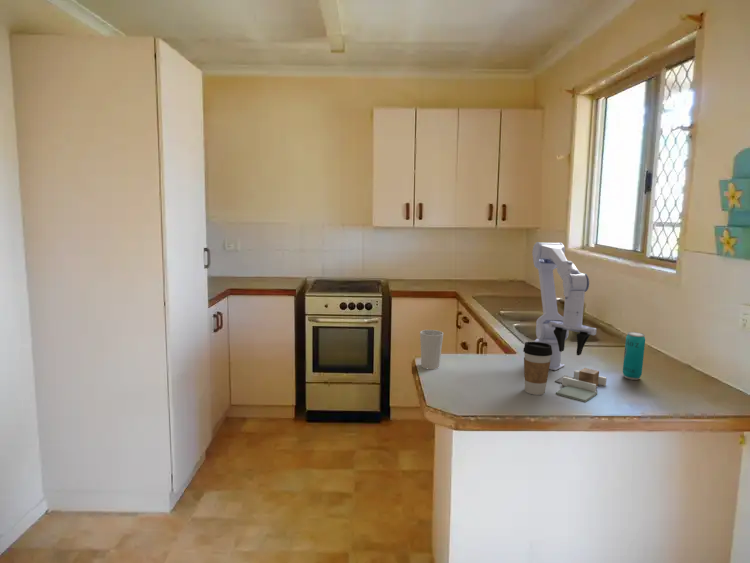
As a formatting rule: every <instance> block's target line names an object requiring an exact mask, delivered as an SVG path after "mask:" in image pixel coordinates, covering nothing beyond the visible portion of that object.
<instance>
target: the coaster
mask: <svg viewBox="0 0 750 563" xmlns="http://www.w3.org/2000/svg"><path fill="white" fill-rule="evenodd" d="M555 395H557V396H562V397H565V398H569V399H573V400H577V401H580V402H585V403H587V402H588V401H589V400H591V399H592V398H594V397H596V396H597V395H598V392H597V391H596V392H594V391H590V390H586V389H582V388H578V387H574V386H570V385H567V386H564V387H562V388H560V389H559V390H556V391H555Z"/></svg>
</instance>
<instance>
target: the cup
mask: <svg viewBox="0 0 750 563" xmlns="http://www.w3.org/2000/svg"><path fill="white" fill-rule="evenodd" d="M419 336H420V338H419V339H420V358H421V359H420V363H421V368H422V367H423V368H422V369H425V368H428V369H427V370H436V369H435V368H438V367H439V366H440V363H441V356H442V347H443V339H444V332H443V331H441V330H436V329H423V330H420V332H419ZM440 367H441V366H440ZM440 367H439V368H440ZM439 368H438V369H439Z"/></svg>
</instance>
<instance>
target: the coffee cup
mask: <svg viewBox="0 0 750 563" xmlns="http://www.w3.org/2000/svg"><path fill="white" fill-rule="evenodd" d="M522 352H523V353H524V357H523V367H524V368H523V372H524V392H525V393H527V394H530V395H533V396H534V395H535V396H541V395H544V394H546V389H547V388H546V387H547V383H548V382H547V381H548V378H549V371H550V369H549V367H550V357H551V355H552V347H551V345H549V344H546V343H541V342H534V341H526V342H524V347H523V350H522Z"/></svg>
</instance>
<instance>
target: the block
mask: <svg viewBox="0 0 750 563" xmlns="http://www.w3.org/2000/svg"><path fill="white" fill-rule="evenodd" d="M578 371H579V380H580V381H585V382H589V383H593V384H596V388H597V387H598V386H599V384H598V378H599V376H600V370H596V369H592V368H587V367H584V368H581V369H580V370H578Z"/></svg>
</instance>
